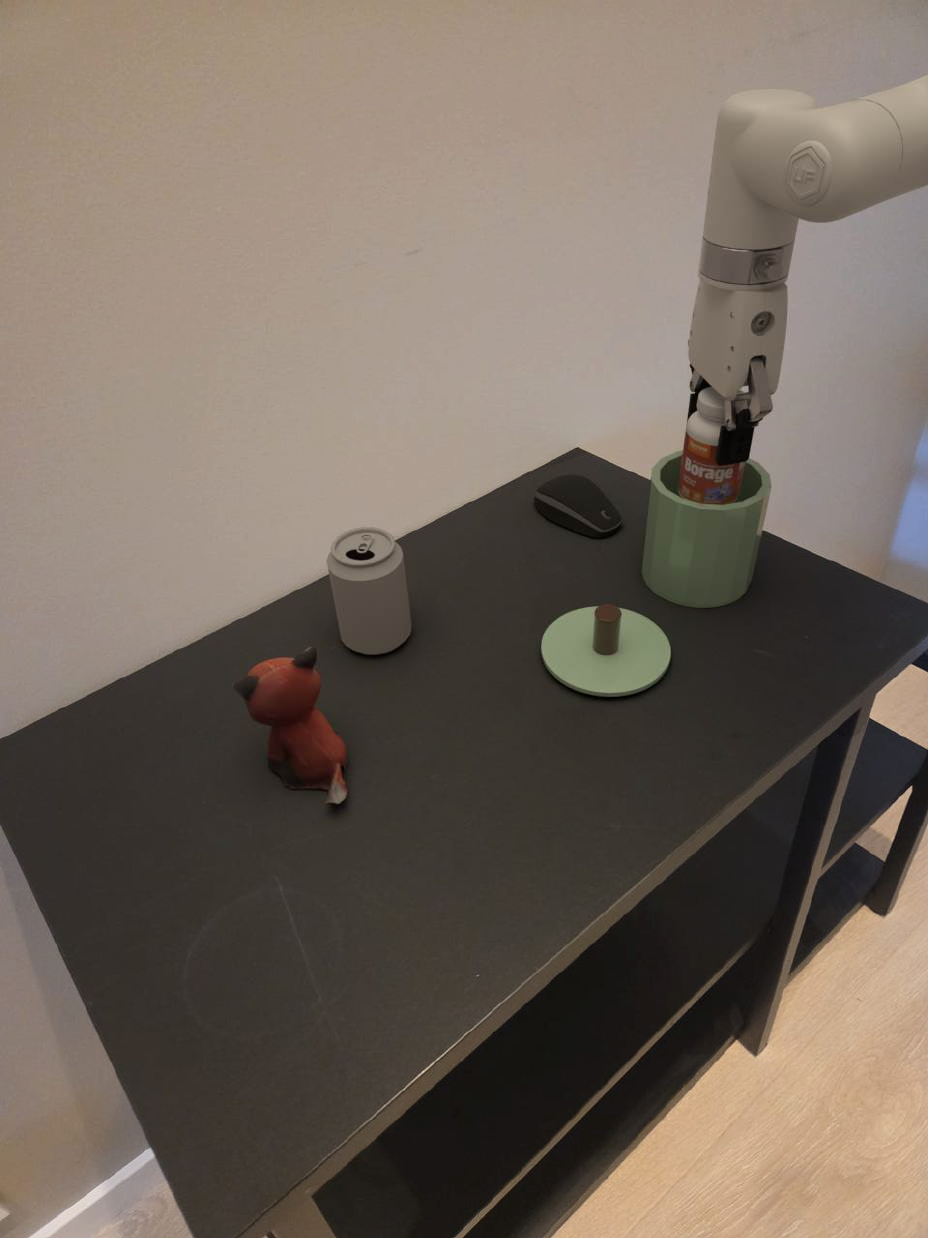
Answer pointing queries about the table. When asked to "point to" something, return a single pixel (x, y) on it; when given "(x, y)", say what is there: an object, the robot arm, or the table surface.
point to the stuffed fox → (295, 724)
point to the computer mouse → (578, 506)
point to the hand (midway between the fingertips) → (716, 443)
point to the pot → (702, 538)
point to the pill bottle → (708, 454)
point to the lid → (605, 651)
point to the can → (369, 590)
